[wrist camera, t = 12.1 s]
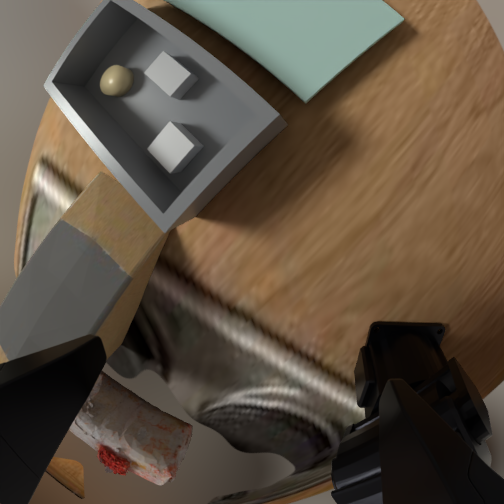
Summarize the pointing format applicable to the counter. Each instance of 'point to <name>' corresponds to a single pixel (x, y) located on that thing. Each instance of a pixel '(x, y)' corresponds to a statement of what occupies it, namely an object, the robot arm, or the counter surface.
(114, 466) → the food item
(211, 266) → the counter surface
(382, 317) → the counter surface
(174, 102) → the box
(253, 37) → the lid
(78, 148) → the counter surface
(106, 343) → the sandwich container
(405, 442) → the robot arm
